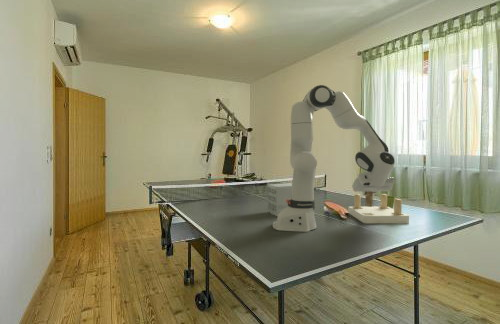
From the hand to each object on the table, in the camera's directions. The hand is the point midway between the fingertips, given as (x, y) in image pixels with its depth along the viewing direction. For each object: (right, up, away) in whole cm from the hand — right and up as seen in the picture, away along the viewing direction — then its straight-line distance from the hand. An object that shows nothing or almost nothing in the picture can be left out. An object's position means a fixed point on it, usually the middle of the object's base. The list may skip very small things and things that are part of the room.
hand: (368, 194), depth 152 cm
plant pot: (+24, -14, +28) cm, 39 cm away
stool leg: (0, -7, 0) cm, 7 cm away
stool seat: (+8, -15, +8) cm, 19 cm away
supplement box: (-44, -15, +21) cm, 51 cm away
